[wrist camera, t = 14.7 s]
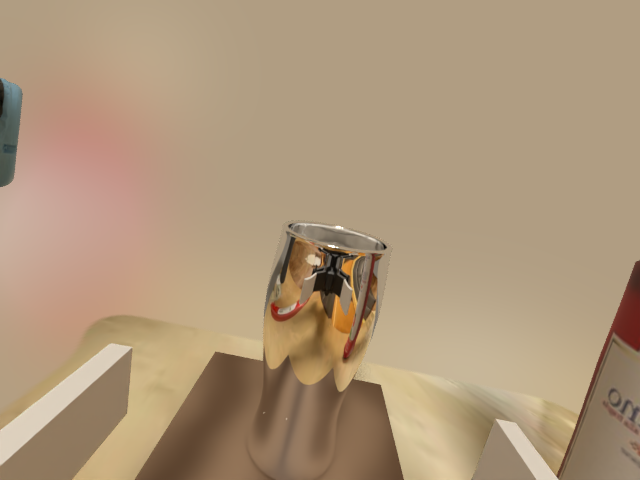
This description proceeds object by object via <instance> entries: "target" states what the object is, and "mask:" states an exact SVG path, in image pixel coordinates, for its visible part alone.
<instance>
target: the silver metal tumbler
mask: <svg viewBox="0 0 640 480" xmlns="http://www.w3.org/2000/svg"><path fill="white" fill-rule="evenodd" d="M391 252H392V247H391V245H390V244H389V243H387V242H385V241H384V240H382V239H380V238H378V237H375V236H372V235H370V234H367V233H364V232H361V231H357V230H354V229H350V228H346V227H342V226H338V225H333V224H327V223H321V222H313V221H299V220H298V221H288V222H285V223H284V224H283V228H282V233H281V237H280V241H279V244H278V247H277V251H276V255H275V258H274V262H273V266H272V271H271V275H270V280H269V284H268V289H267V295H266V302H265V309H264V328H263V388H262V395H261V399H260V402H259V405H258V408H257V410H256V413H255V415H254V417H253V420H252V422H251V425H250V428H249V431H248V437H247V445H248V451H249V454H250V456H251V458H252V460H253V462H254V463H255V465H256V466H257V467H258V468H259V469H260V470H261V471H262V472H263V473H264V474H266V475H267V476H269V477H270V478H272V479H274V480H315V479H317V478H319V477H320V476H321V475H323V474H324V473H325V472H326V471H327V469H328V468H329V467H330V465H331V463H332V461H333V458H334V454H335V447H336V427H337V419H338V414H339V410H340V407H341V404H342V401H343V399H344V397H345V395H346V393H347V390H348V388H349V386H350V384H351V382H352V380H353V378H354V376H355V374H356V372H357V370H358V368H359V366H360V364H361V362H362V360H363V357H364V355H365V353H366V350H367V348H368V346H369V343H370V341H371V338H372V336H373V332H374V329H375V326H376V323H377V319H378V316H379V312H380V308H381V304H382V299H383V295H384V289H385V284H386V278H387V272H388V266H389V261H390V256H391Z"/></svg>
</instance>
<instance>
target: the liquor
mask: <svg viewBox="0 0 640 480" xmlns="http://www.w3.org/2000/svg"><path fill="white" fill-rule="evenodd" d="M557 478H558V480H640V261H637V262H636V263H635V265H634V268H633V271H632V274H631V276H630V279H629V282H628V284H627V287H626V290H625V292H624V295H623V298H622V300H621V303H620V306H619V308H618V311H617V313H616V316H615V319H614V321H613V324H612V326H611V329H610V332H609V334H608V336H607V339H606V342H605V344H604V347H603V349H602V352H601V354H600V357H599V360H598V362H597V365H596V368H595V371H594V374H593V377H592V380H591V383H590V386H589V389H588V392H587V395H586V398H585V400H584V403H583V407H582V409H581V412H580V415H579V418H578V421H577V424H576V427H575V430H574V433H573V435H572V438H571V440H570V443H569V446H568V448H567V451H566V453H565V456H564V459H563V461H562V464H561V466H560V469H559V471H558V474H557Z"/></svg>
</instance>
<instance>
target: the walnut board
mask: <svg viewBox="0 0 640 480" xmlns="http://www.w3.org/2000/svg"><path fill="white" fill-rule="evenodd" d="M262 388H263V361H259V360H254V359H250V358H245V357H240V356H235V355H230V354H225V353H220V352H215V353H214V355H213V356H212V358H211V360H210V361H209V363H208V364H207V366H206V368H205V369H204V371H203V372H202V374H201V376H200V377H199V379H198V380H197V382H196V383H195V385H194V387H193V388H192V390H191V391H190V393H189V395H188V396H187V398H186V399H185V401H184V402H183V404H182V406H181V407H180V409H179V410H178V412H177V414H176V415H175V417H174V418H173V420H172V421H171V423H170V425H169V426H168V428H167V429H166V431H165V433H164V434H163V436H162V437H161V439H160V440H159V442H158V444H157V445H156V447H155V448H154V450H153V452H152V453H151V455H150V456H149V458H148V460H147V461H146V463H145V464H144V466H143V467H142V469H141V471H140V472H139V474H138V475H137V477H136V479H135V480H274V479H272V478H270V477H269V476H267V475H266V474H264V473H263V472H262V471H261V470H260V469H259V468H258V467H257V466H256V465H255V463H254V462H253V460H252V458H251V456H250V454H249V451H248V445H247V437H248V431H249V428H250V425H251V422H252V420H253V417H254V415H255V413H256V410H257V408H258V405H259V402H260V399H261V395H262ZM315 480H404V479H403V475H402V471H401V466H400V462H399V458H398V454H397V450H396V446H395V442H394V438H393V433H392V429H391V425H390V421H389V417H388V413H387V409H386V405H385V401H384V396H383V392H382V388H381V385H379V384H374V383H369V382H364V381H359V380H354V379H353V380H352V382H351V384H350V386H349V388H348V390H347V393H346V395H345V397H344V399H343V401H342V404H341V407H340V410H339V414H338V419H337V427H336V447H335V454H334V458H333V461H332V463H331V465H330V467H329V468H328V469H327V471H326V472H325V473H324V474H323V475H321V476H320V477H319V478H317V479H315Z"/></svg>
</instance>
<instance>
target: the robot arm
mask: <svg viewBox="0 0 640 480" xmlns="http://www.w3.org/2000/svg"><path fill="white" fill-rule="evenodd" d="M22 95H23V94H22V90H21V88H20V87H19V86H18V85H16V84H14V83H10V82H8V81H6V80H5V79H2V78H0V187H3V186H6V185H8V184H9V183H11V182H12V180H13V178H14V172H15V162H16V152H17V143H18V134H19V125H20V115H21V105H22ZM131 359H132V347H128V346H123V345H118V344H113V343H110V344H109V345H108V346H106V347H105V348H104V349H103V350H101V351H100V352H99V353H97V354H96V355H95V356H94V357H92V358H91V359H90V360H89V361H87V362H86V363H85V364H84V365H82V366H81V367H80V368H78V369H77V370H76V371H75V372H73V373H72V374H71V375H70V376H68V377H67V378H66V379H65V380H63V381H62V382H61V383H59V384H58V385H57V386H56V387H54V388H53V389H52V390H51V391H49V392H48V393H47V394H45V395H44V396H43V397H42V398H40V399H39V400H38V401H37V402H35V403H34V404H33V405H32V406H30V407H29V408H28V409H26V410H25V411H24V412H23V413H21V414H20V415H19V416H18V417H16V418H15V419H14V420H13V421H11V422H10V423H9V424H7V425H6V426H5V427H4V428H2V429H1V430H0V480H72V479H73V478H74V476H75V475H76V474H77V473H78V471H79V470H80V469H81V468H82V467H83V465H84V464H85V463H86V462H87V461H88V459H89V458H90V457H91V456H92V455H93V453H94V452H95V451H96V450H97V449H98V447H99V446H100V445H101V444H102V443H103V441H104V440H105V439H106V438H107V437H108V435H109V434H110V433H111V432H112V431H113V429H114V428H115V427H116V426H117V425H118V423H119V422H120V421H121V420H122V419H123V417H124V416H125V415H126V414H127V407H128V395H129V383H130V371H131ZM472 480H558V478H557V477H556V476H555V474H554V473H553V472H552V470H551V469H550V468H549V466H548V465H547V464H546V462H545V461H544V460H543V458H542V457H541V456H540V454H539V453H538V452H537V450H536V449H535V448H534V446H533V445H532V444H531V442H530V441H529V440H528V438H527V437H526V436H525V434H524V433H523V432H522V430H521V429H520V428H519V426H518V425H517V424H516V423H515V422H509V421H504V420H499V419H495V420H494V423H493V426H492V428H491V431H490V434H489V436H488V439H487V441H486V444H485V447H484V449H483V452H482V454H481V457H480V460H479V462H478V465H477V467H476V470H475V473H474V475H473V478H472Z"/></svg>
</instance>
